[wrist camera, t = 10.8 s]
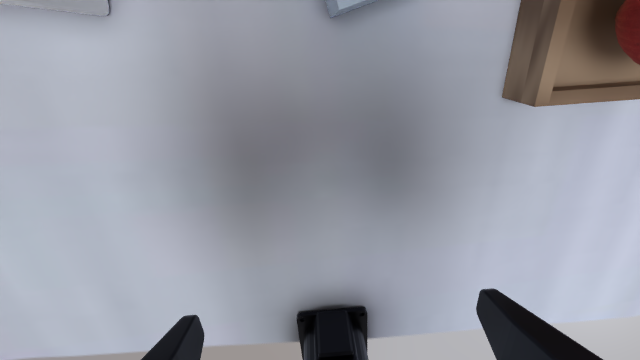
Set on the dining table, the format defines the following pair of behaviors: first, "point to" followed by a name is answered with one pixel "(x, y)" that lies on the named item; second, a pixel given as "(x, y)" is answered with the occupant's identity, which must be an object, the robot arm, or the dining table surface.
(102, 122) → the dining table surface
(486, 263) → the dining table surface
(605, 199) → the dining table surface
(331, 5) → the slate cube
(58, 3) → the medicine bottle
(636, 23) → the onion
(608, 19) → the wooden square tray
